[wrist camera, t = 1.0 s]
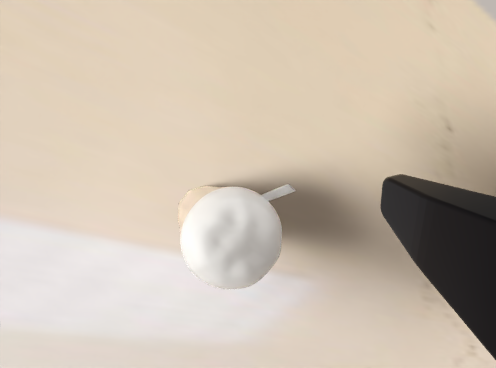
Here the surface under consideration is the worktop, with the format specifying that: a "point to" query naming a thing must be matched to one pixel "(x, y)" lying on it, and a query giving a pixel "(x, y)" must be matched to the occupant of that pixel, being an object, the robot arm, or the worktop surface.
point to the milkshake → (230, 234)
